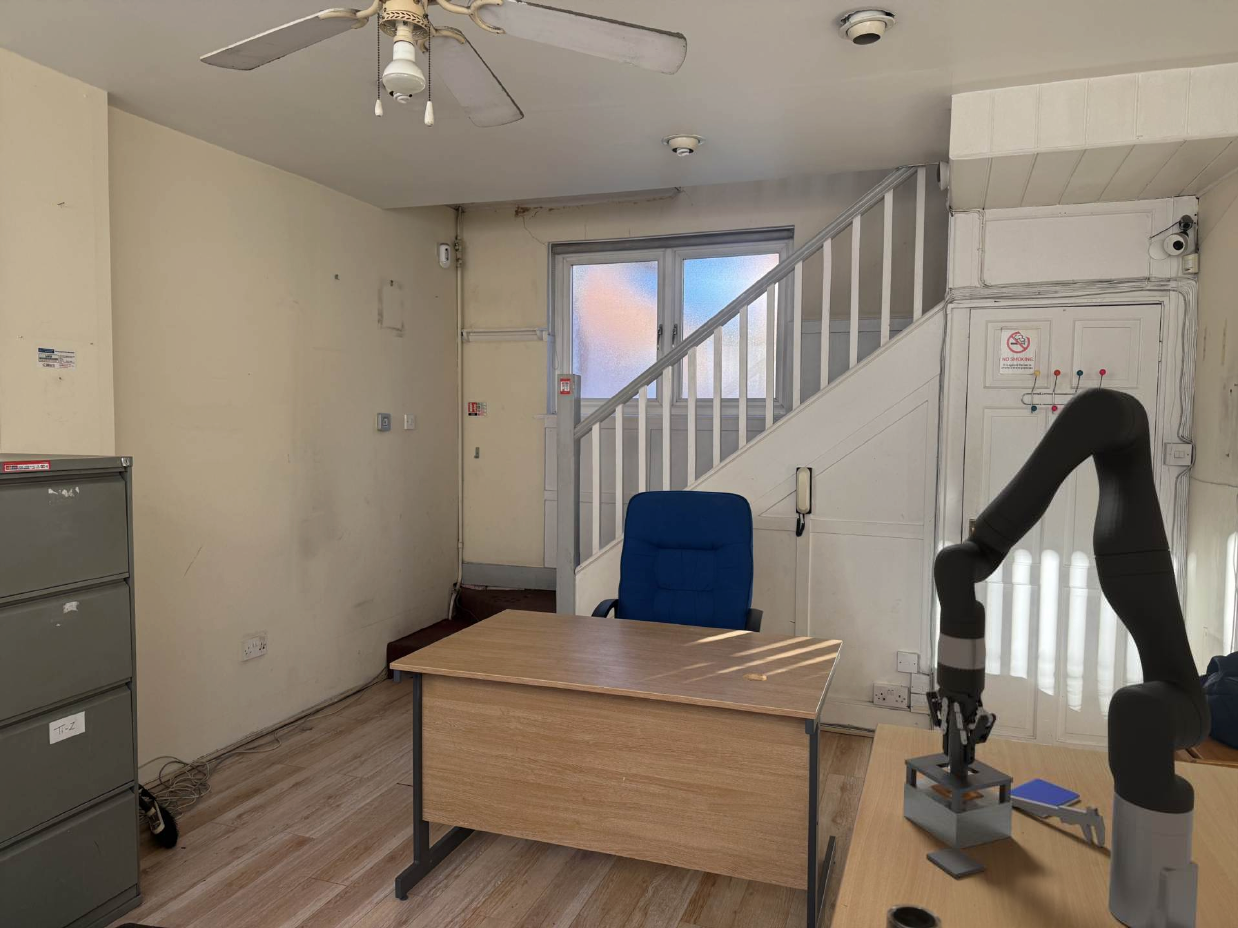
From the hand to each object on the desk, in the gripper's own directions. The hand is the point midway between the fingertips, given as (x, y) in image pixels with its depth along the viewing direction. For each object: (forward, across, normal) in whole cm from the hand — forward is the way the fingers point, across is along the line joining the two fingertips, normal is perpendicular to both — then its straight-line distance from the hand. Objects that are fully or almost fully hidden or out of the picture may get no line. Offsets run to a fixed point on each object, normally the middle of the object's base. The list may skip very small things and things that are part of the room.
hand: (957, 759), depth 134 cm
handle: (+5, 0, 0) cm, 5 cm away
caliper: (+12, -4, -16) cm, 20 cm away
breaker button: (+10, 0, 0) cm, 10 cm away
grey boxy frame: (+12, 0, 0) cm, 12 cm away
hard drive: (+12, +2, -22) cm, 25 cm away
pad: (+12, -9, +9) cm, 17 cm away
